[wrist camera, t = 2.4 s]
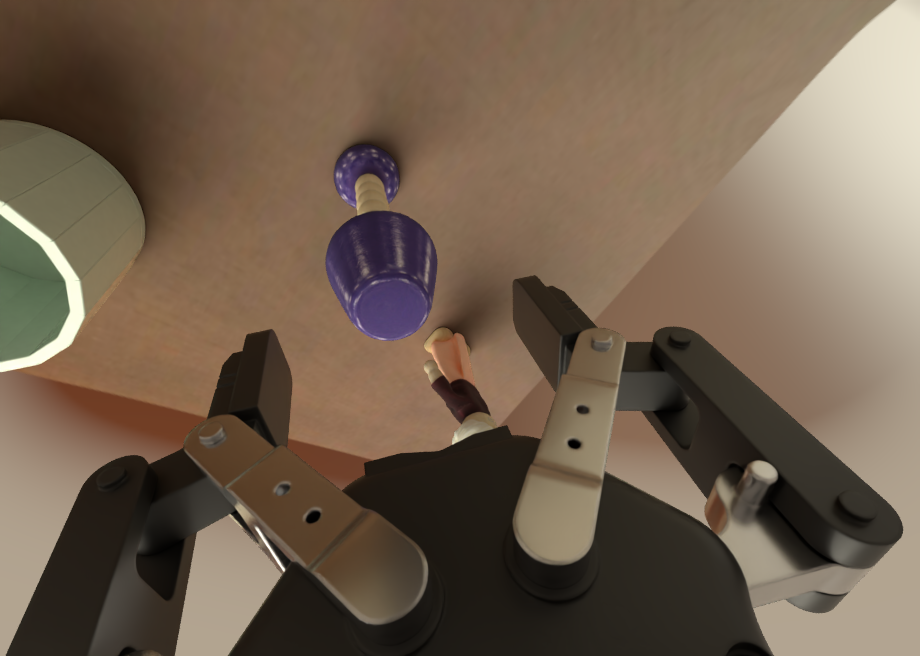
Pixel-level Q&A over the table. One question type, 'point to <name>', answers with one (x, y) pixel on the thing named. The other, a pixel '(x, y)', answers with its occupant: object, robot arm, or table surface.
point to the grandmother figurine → (457, 382)
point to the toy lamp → (379, 251)
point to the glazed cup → (58, 239)
